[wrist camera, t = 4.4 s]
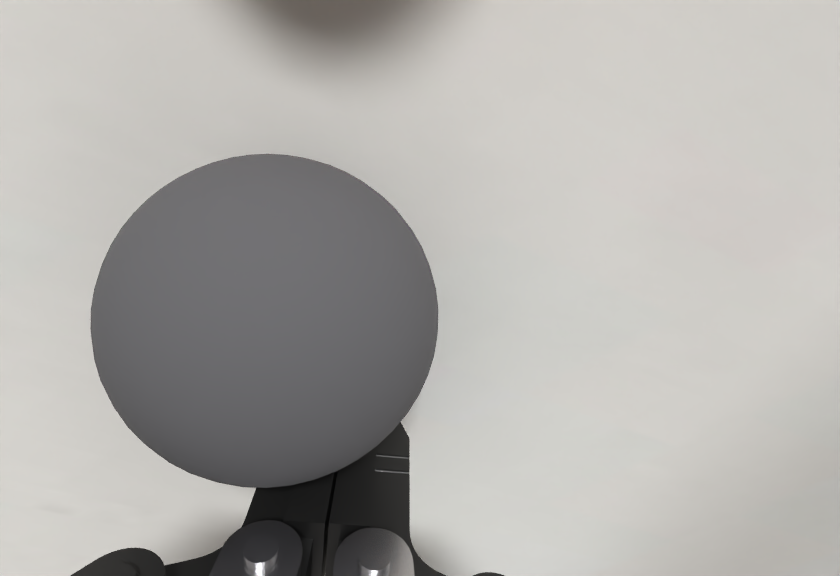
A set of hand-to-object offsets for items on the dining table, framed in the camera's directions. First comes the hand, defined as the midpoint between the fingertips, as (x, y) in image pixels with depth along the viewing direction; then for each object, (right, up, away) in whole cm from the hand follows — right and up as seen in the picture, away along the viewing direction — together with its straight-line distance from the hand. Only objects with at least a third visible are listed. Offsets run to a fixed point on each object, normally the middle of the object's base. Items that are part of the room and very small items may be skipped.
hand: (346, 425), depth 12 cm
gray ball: (-1, +3, -3) cm, 4 cm away
